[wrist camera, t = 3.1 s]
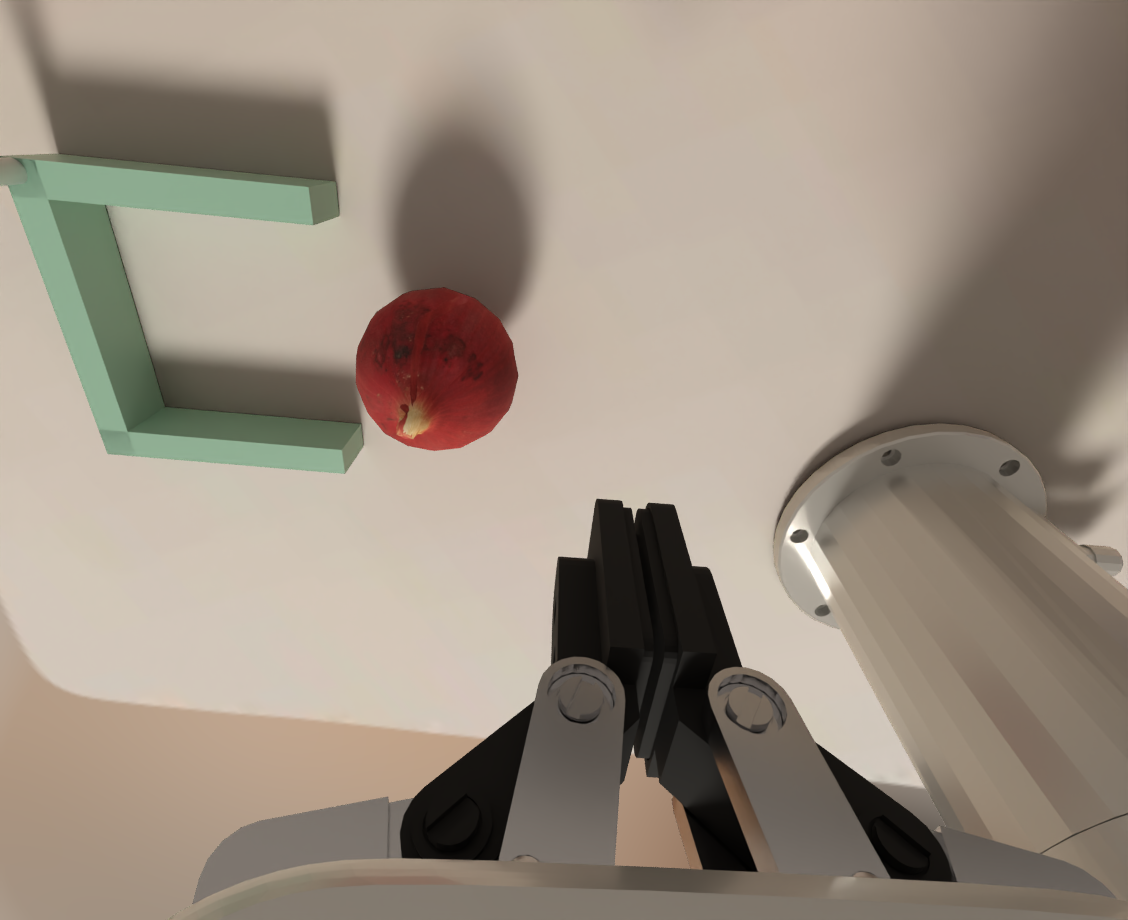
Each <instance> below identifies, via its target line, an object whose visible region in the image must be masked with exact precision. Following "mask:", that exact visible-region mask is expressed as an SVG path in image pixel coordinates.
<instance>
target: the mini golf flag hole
mask: <svg viewBox="0 0 1128 920" xmlns="http://www.w3.org/2000/svg"><path fill="white" fill-rule="evenodd" d="M5 185H8V187H9V190H10V192H11V195H12V198H13V200H14V203H15V206H16V208H17V211H18V214H19V216H20V219H21V222H22V225H23V227H24V230H25V233H26V235H27V238H28V241H29V243H30V246H31V249H32V251H33V254H34V257H35V260H36V262H37V265H38V268H39V270H40V273H41V276H42V278H43V281H44V284H45V286H46V289H47V292H48V294H49V297H50V300H51V303H52V305H53V308H54V311H55V313H56V316H57V319H58V321H59V324H60V327H61V329H62V332H63V335H64V338H65V340H66V343H67V346H68V348H69V351H70V354H71V356H72V359H73V362H74V364H75V367H76V370H77V373H78V375H79V378H80V381H81V383H82V386H83V389H84V391H85V394H86V397H87V399H88V402H89V405H90V408H91V410H92V413H93V416H94V418H95V421H96V424H97V426H98V429H99V432H100V434H101V437H102V440H103V442H104V445H105V448H106V451H107V453H108V454H114V455H126V456H138V457H150V458H162V459H174V460H186V461H198V462H210V463H222V464H234V465H246V466H258V467H270V468H282V469H293V470H305V471H317V472H329V473H341V474H345V473H346V471H347V470H348V468H349V467H350V466H351V464H352V463H353V461H354V460H355V458H356V457H357V455H358V454H359V452H360V451H361V449H362V448H363V437H362V428H361V424H356V423H344V422H333V421H321V420H310V419H298V418H287V417H275V416H264V415H252V414H241V413H229V412H217V411H206V410H194V409H183V408H171V407H165V406H164V402H163V399H162V395H161V392H160V389H159V385H158V382H157V379H156V375H155V372H154V369H153V365H152V362H151V358H150V355H149V352H148V348H147V345H146V342H145V338H144V335H143V332H142V328H141V325H140V322H139V318H138V315H137V311H136V308H135V305H134V301H133V298H132V295H131V291H130V288H129V285H128V281H127V278H126V274H125V271H124V268H123V264H122V261H121V258H120V254H119V251H118V248H117V244H116V241H115V237H114V234H113V231H112V227H111V224H110V221H109V217H108V214H107V211H106V207H105V205H111V206H121V207H131V208H141V209H152V210H162V211H172V212H182V213H193V214H203V215H213V216H223V217H234V218H244V219H254V220H264V221H275V222H285V223H295V224H305V225H315V224H318V223H321V222H324V221H327V220H330V219H333V218H335V217H338V216H339V208H338V198H337V189H336V182H335V181H325V180H315V179H305V178H295V177H285V176H275V175H265V174H255V173H245V172H235V171H225V170H215V169H205V168H195V167H185V166H175V165H165V164H155V163H145V162H135V161H125V160H115V159H105V158H95V157H85V156H75V155H65V154H38V155H12V156H0V186H5Z"/></svg>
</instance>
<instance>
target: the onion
mask: <svg viewBox="0 0 1128 920" xmlns="http://www.w3.org/2000/svg"><path fill="white" fill-rule="evenodd" d="M517 379H518V371H517V366H516V361H515V356H514V350H513V343H512V341H511V339H510V337H509V336H508V334H507V332H506V330H505V328H504V327H503V325H502V323H501V321H500V320H499V318H498V317H496V316H495V315H494V314H493V313H492V312H490V311H489V310H488V309H487V308H486V307H485V306H483V305H482V304H481V303H480V302H479V301H478V300H476V299H475V298H472V297H470V296H467V295H464V294H461V293H458V292H456V291H453V290H450V289H447V288H444V287H442V288H433V289H425V290H416V291H410V292H407V293H404V294H402V295H401V296H399V297H398V298H396V299H395V300H393V301H392V302H390V303H389V304H388V305H386V306H385V307H383V308H382V309H380V310H379V311H377V312H376V314H375V315H374V316H373V318H372V319H371V321H370V322H369V325H368V327H367V329H366V331H365V333H364V335H363V337H362V339H361V341H360V343H359V346H358V350H357V355H356V385H357V388H358V391H359V393H360V395H361V398H362V400H363V403H364V405H365V407H366V410H367V412H368V414H369V415H370V416H371V417H372V419H373V420H374V421H375V422H376V423H377V425H378V426H379V427H380V428H381V429H382V431H383V432H384V433H385V434H387V435H389V436H391V437H392V438H394V439H396V440H398V441H400V442H402V443H404V444H406V445H407V446H412V447H417V448H422V449H427V450H433V451H437V450H446V449H454V448H461V447H463V446H465V445H467V444H469V443H471V442H473V441H475V440H477V439H479V438H481V437H483V436H485V435H486V434H488V433H490V432H491V431H492V430H493V429H494V427H495V426H496V425H497V424H498V422H499V421H500V420H501V419H502V418H503V416H504V415H505V414H506V413H507V411H508V410H509V408H510V406H511V404H512V401H513V396H514V392H515V388H516V383H517Z"/></svg>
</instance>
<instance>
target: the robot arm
mask: <svg viewBox="0 0 1128 920" xmlns="http://www.w3.org/2000/svg"><path fill="white" fill-rule="evenodd" d="M1046 512H1047V506H1046V490H1045V487H1044V485H1043V482H1042V479H1041V476H1040V473H1039V472H1038V471H1037V469H1036V468H1035V467H1034V465H1033V464H1032V463H1031V461H1030V460H1029V459H1028V458H1027V457H1026V456H1025V455H1023V454H1022V453H1021V452H1019V451H1018V450H1017V449H1016V448H1014V447H1013V446H1012V445H1010V444H1009V443H1008V442H1006V441H1004V440H1002V439H1000V438H999V437H997V436H995V435H993V434H992V433H990V432H987V431H983V430H980V429H977V428H973V427H970V426H966V425H955V424H944V423H937V424H925V425H913V426H909V427H905V428H900V429H896V430H892V431H888V432H884V433H882V434H879V435H877V436H874V437H872V438H869V439H867V440H864V441H861V442H859V443H857V444H855V445H854V446H852V447H850V448H848V449H847V450H845V451H843V452H841V453H840V454H838V455H836V456H834V457H833V458H832V459H831V460H829V461H828V462H827V463H825V464H824V465H823V466H822V467H820V468H819V469H818V470H816V471H815V472H814V473H813V474H812V475H811V476H810V477H809V478H808V479H807V480H806V481H805V482H804V483H803V485H802V486H801V487H800V488H799V489H798V490H797V491H796V492H795V494H794V495H793V497H792V498H791V500H790V502H789V503H788V505H787V506H786V508H785V509H784V511H783V514H782V516H781V518H780V521H779V523H778V526H777V528H776V533H775V539H774V545H773V553H774V565H775V568H776V570H777V573H778V576H779V579H780V581H781V583H782V585H783V587H784V589H785V591H786V593H787V595H788V597H789V598H790V599H791V600H792V601H793V603H794V604H795V605H796V606H797V607H798V608H799V609H800V610H801V611H802V612H804V613H805V614H806V615H808V616H809V617H810V618H812V619H814V620H816V621H818V622H820V623H823V624H825V625H827V626H830V627H832V628H836V629H840V630H841V632H842V633H843V635H844V637H845V639H846V641H847V643H848V645H849V646H850V648H851V650H852V652H853V654H854V656H855V658H856V659H857V661H858V663H859V665H860V667H861V669H862V671H863V673H864V674H865V676H866V678H867V680H868V682H869V684H870V686H871V687H872V689H873V691H874V693H875V695H876V697H877V699H878V700H879V702H880V704H881V706H882V708H883V710H884V712H885V713H886V715H887V717H888V719H889V721H890V723H891V725H892V727H893V728H894V730H895V732H896V734H897V736H898V738H899V740H900V741H901V743H902V745H903V747H904V749H905V751H906V753H907V754H908V756H909V758H910V760H911V762H912V764H913V766H914V767H915V769H916V771H917V773H918V775H919V777H920V779H921V781H922V782H923V784H924V786H925V788H926V790H927V791H928V793H929V795H930V797H931V799H932V801H933V803H934V804H935V807H936V808H937V810H938V812H939V814H940V816H941V818H942V819H943V821H944V823H945V825H946V827H944V826H938V828H937V829H936V830H935V831H934V830H930V829H928V827H927V826H926V825H924V824H923V823H922V822H921V821H920V820H919V819H918V818H917V817H915V816H914V815H913V814H912V813H911V812H910V811H908V810H907V809H905V808H904V807H903V806H901V805H900V804H899V803H897V802H896V801H894V800H893V799H892V798H891V797H889V796H888V795H886V794H885V793H884V792H882V791H881V790H880V789H878V788H877V787H875V786H874V785H873V784H871V783H870V782H869V781H867V780H866V779H865V778H863V777H862V776H861V775H859V774H858V773H857V772H855V771H854V770H852V769H851V768H850V767H848V766H847V765H846V764H844V763H843V762H842V761H840V760H839V759H838V758H836V757H835V756H833V755H832V754H831V753H829V752H828V751H827V750H825V749H824V748H823V747H821V746H820V745H819V744H817V743H816V742H815V741H814V739H813V738H812V736H811V734H810V732H809V730H808V729H807V727H806V725H805V723H804V721H803V720H802V718H801V716H800V714H799V712H798V711H797V709H796V707H795V705H794V703H793V702H792V700H791V698H790V697H789V696H788V694H787V693H786V692H785V690H784V689H783V688H782V687H781V686H780V685H779V684H778V683H776V682H775V681H774V680H773V679H772V678H770V677H768V676H766V675H765V674H763V673H761V672H759V671H756V670H752V669H749V668H744V667H742V665H741V662H740V659H739V656H738V653H737V650H736V647H735V644H734V641H733V637H732V634H731V631H730V628H729V625H728V622H727V619H726V616H725V613H724V610H723V607H722V604H721V601H720V598H719V595H718V592H717V589H716V585H715V582H714V579H713V576H712V574H711V572H710V570H709V569H708V568H707V567H697V566H692V564H691V561H690V557H689V554H688V550H687V547H686V543H685V540H684V536H683V533H682V529H681V526H680V522H679V519H678V515H677V512H676V508H675V506H674V505H671V504H658V503H648V504H647V506H646V509H638V510H637V513H636V518H635V523H634V520H633V514H632V509H631V508H623V503H622V501H619V500H606V499H596V502H595V508H594V515H593V522H592V529H591V536H590V543H589V550H588V557H587V559H585V558H571V557H558V561H557V570H556V579H555V589H554V601H553V619H552V654H551V666H550V667H549V668H548V669H547V670H546V671H545V672H544V673H543V675H542V677H541V680H540V682H539V685H538V689H537V693H536V698H535V701H534V702H532V703H531V704H530V705H528V706H527V707H526V708H525V709H523V710H522V711H521V712H519V713H518V714H517V715H516V716H514V717H513V718H512V719H511V720H509V721H508V722H507V723H505V724H504V725H503V726H502V727H500V728H499V729H498V730H497V731H495V732H494V733H493V734H491V735H490V736H489V737H488V738H486V739H485V740H484V741H483V742H481V743H480V744H479V745H478V746H476V747H475V748H474V749H472V750H471V751H470V752H469V753H467V754H466V755H465V756H463V757H462V758H461V759H460V760H458V761H457V762H456V763H455V764H453V765H452V766H451V767H449V768H448V769H447V770H446V771H444V772H443V773H442V774H440V775H439V776H438V777H437V778H435V779H434V780H433V781H432V782H430V783H429V784H428V785H426V786H425V787H424V788H423V789H422V790H421V791H420V792H419V793H418V794H417V795H416V796H415V797H414V798H411V799H406V800H401V801H396V802H391V803H389V799H388V797H384V798H379V799H373V800H368V801H362V802H357V803H352V804H347V805H341V806H336V807H331V808H326V809H320V810H315V811H309V812H304V813H299V814H294V815H288V816H283V817H278V818H272V819H267V820H262V821H258V822H255V823H252V824H250V825H247V826H244V827H241V828H240V829H238V830H237V831H236V832H234V833H233V834H231V835H230V836H229V837H228V838H226V839H224V840H223V841H222V842H221V844H220V845H219V846H218V847H217V848H216V850H215V851H214V852H213V853H212V855H211V856H210V857H209V858H208V860H207V862H206V864H205V867H204V869H203V871H202V873H201V876H200V878H199V881H198V885H197V888H196V892H195V896H194V900H193V903H192V905H191V906H189V907H187V908H185V909H184V910H182V911H180V912H178V913H176V914H175V915H173V916H172V917H170V918H169V919H167V920H1128V589H1127V588H1125V587H1124V586H1123V585H1122V584H1120V583H1119V582H1118V581H1117V580H1116V579H1114V578H1113V577H1112V576H1115V575H1116V574H1118V573H1119V572H1121V569H1122V566H1123V560H1122V556H1121V555H1120V553H1119V552H1118V551H1117V550H1116V549H1113V548H1111V547H1106V546H1094V545H1078V544H1076V543H1075V542H1074V541H1073V540H1072V539H1070V538H1069V537H1068V536H1067V535H1065V534H1064V533H1063V532H1062V531H1061V530H1059V529H1058V528H1057V527H1056V526H1054V525H1053V524H1052V523H1051V522H1049V521H1048V520H1047V519H1046V518H1045V516H1046ZM633 745H634V753H635V756H636V757H637V758H644V759H645V767H646V775H647V777H658V778H659V783H660V784H661V785H662V786H663V787H664V788H666V789H667V790H668V791H669V792H670V793H671V794H672V805H673V812H674V815H675V818H676V822H677V825H678V829H679V832H680V836H681V839H682V842H683V846H684V849H685V852H686V856H687V859H688V862H689V866H690V869H680V868H658V867H657V868H656V867H636V866H614V865H615V850H616V849H615V848H616V835H617V819H618V804H619V789H620V784H622V783H623V781H624V779H625V775H626V771H627V767H628V763H629V759H630V756H631V752H632V748H633Z"/></svg>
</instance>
